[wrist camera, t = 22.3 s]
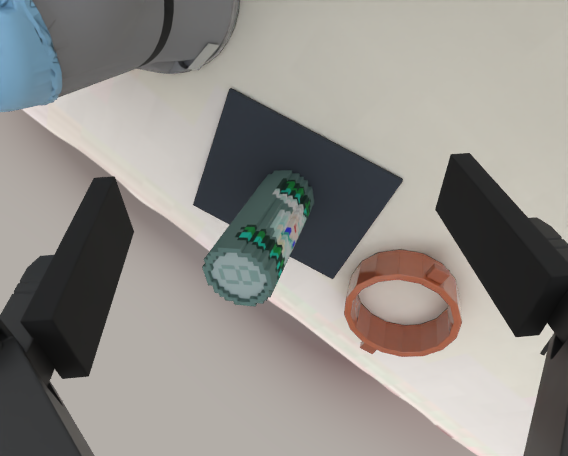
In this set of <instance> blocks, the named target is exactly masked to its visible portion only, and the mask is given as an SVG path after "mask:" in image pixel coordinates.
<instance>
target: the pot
mask: <svg viewBox="0 0 568 456" xmlns="http://www.w3.org/2000/svg"><path fill="white" fill-rule="evenodd" d="M389 280H403V281H409V282H414V283H419V284H422V285H423V286H425V287H427V288H429V289H431V290H433V291H435V292H437V293H438V294H439V295H440V296H441V297H442V298H443V299H444V300H445V302H446V303H447V304H448V308H447V309H446V310H445V311H444V312H443V313H442V314H441V315H440V316H439V317H438V318H436V319H434V320H431V321H429V322H426V323H424V324H420V325H399V324H395V323H390V322H386V321H384V320H382V319H380V318H378V317H376V316H374V315H373V314H371V313H370V312H369V311H368V310H367V309H366V308H365V307H364V306H363V305H362V303H361V302H360V299H359V297H358V294H359V293H360V291H361V290H362V289H364V288H366V287H368V286H370V285H372V284H374V283H377V282H380V281H389ZM344 315H345V317H346V320H347V322H348V325H349V327H350V329H351V330H352V331H353V332H354V334H355V335H356V336H357V337H358V338H359V339H360V340H361V341H362V342H361V345H360V348H361V349H363V350H365V351H367V352H369V353H371V354H373V353H374V352H375V351H376V350H379V351H381V352H384V353H388V354H392V355H397V356H401V357H409V356H425V355H428V354H431V353H434V352H437V351H440V350H443V349H444V348H445V347H446V346H448V345H449V344H450V343H451V342H452V341H454V340H455V339H456V337H457V335H458V332H459V329H460V327H461V324H462V318H461V308H460V298H459V292H458V288H457V283H456V279H455V278H454V277H453V275H452V274H451V273H450V270H448V269H447V268H446V267H445V266H444V265H443V264H442V263H440V262H438V261H436V260H434V259H433V258H431V257H429V256H427V255H425V254H423V253H418V252H412V251H406V250H393V251H386V252H379V253H377V254H375V255H373V256H371V257H369V258H367V259H366V260H364V261H362V262H361V263H360V264H359V266H358V267H357V268H356V270H355V271H354V272H353V274H352V276H351V280H350V284H349V289H348V293H347V297H346V303H345V311H344Z"/></svg>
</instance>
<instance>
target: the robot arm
mask: <svg viewBox="0 0 568 456" xmlns="http://www.w3.org/2000/svg"><path fill="white" fill-rule="evenodd" d="M239 1H240V0H0V112H9V111H14V110H19V109H23V108H28V107H33V106H37V105H47V104H49V103H52V102H54V100H57V98H58V97H61V96H63V95H66V94H69V93H71V92H74V91H77V90H79V89H82V88H85V87H88V86H90V85H93V84H96V83H98V82H101V81H104V80H106V79H109V78H112V77H114V76H117V75H120V74H123V73H125V72H128V71H131V70H133V69H142V70H147V71H152V72H157V73H164V74H174V73H183V72H188V71H191V70H199V69H200V67H201V66H202V65H204V64H206V63H208V62H209V61H211V60H212V59H213V58H214V57H216V56H217V55H218V54H219V53H220V51H221V50H222V49H223V48H224V46H225V45H226V43H227V42H228V40H229V38H230V36H231V34H232V32H233V29H234V26H235V23H236V20H237V15H238V10H239ZM435 210H436V211H437V213H438V215H439V216H440V218H441V219H442V221H443V222H444V224H445V226H446V227H447V229H448V230H449V232H450V234H451V235H452V237H453V238H454V240H455V242H456V243H457V245H458V246H459V248H460V249H461V251H462V253H463V254H464V256H465V257H466V259H467V261H468V262H469V264H470V265H471V267H472V269H473V270H474V272H475V273H476V275H477V276H478V278H479V280H480V281H481V283H482V284H483V286H484V288H485V289H486V291H487V292H488V294H489V296H490V297H491V299H492V300H493V302H494V303H495V305H496V307H497V308H498V310H499V311H500V313H501V315H502V316H503V318H504V319H505V321H506V323H507V324H508V326H509V327H510V329H511V330H512V332H513V334H514V335H515V337H523V336H534V335H540V333H541V332H542V330H543V329H544V327H545V325H546V324H547V323H548V324H549V326H550V327H551V329H552V330H553V331H554V334H553V336H552V337H551V338H550V340H549V341H548V343H547V344H546V345H545V347H544V348H543V350H542V351H541V353H540V354H542V355H545V353H546V352H547V355H546V359H545V363H544V368H543V372H542V377H541V381H540V385H539V390H538V394H537V399H536V403H535V407H534V412H533V416H532V421H531V425H530V429H529V434H528V438H527V443H526V447H525V451H524V456H568V244H567V242H566V241H565V240H564V239H561V236H560V235H559V234H558V233H557V232H556V231H555V230H554V229H553V228H552V227H551V226H550V225H548V224H546V223H545V222H543V221H542V220H540V219H538V218H528V217H527V216H526V215H525V214H524V213H523V212H522V211H521V210H520V208H519V207H518V206H517V205H516V204H515V203H514V202H513V201H512V200H511V199H510V197H509V196H508V195H507V194H506V193H505V192H504V191H503V190H502V189H501V187H500V186H499V185H498V184H497V183H496V182H495V181H494V180H493V179H492V177H491V176H490V175H489V174H488V173H487V172H486V171H485V170H484V169H483V167H482V166H481V165H480V164H479V163H478V162H477V161H476V160H475V159H474V157H473V156H472V155H471V154H470V153H464V154H451V156H450V159H449V163H448V166H447V170H446V173H445V177H444V180H443V184H442V188H441V191H440V195H439V198H438V202H437V205H436V209H435ZM133 233H134V230H133V228H132V225H131V222H130V219H129V216H128V213H127V210H126V208H125V205H124V202H123V199H122V196H121V193H120V191H119V188H118V185H117V182H116V179H115V177H100V178H94V179H93V181H92V183H91V185H90V187H89V189H88V191H87V192H86V195H85V196H84V199H83V201H82V202H81V204H80V206H79V208H78V210H77V212H76V214H75V216H74V218H73V220H72V222H71V224H70V226H69V227H68V230H67V231H66V233H65V235H64V237H63V239H62V241H61V243H60V245H59V247H58V249H57V251H56V253H55V255H48V256H40V257H39V258H37V259H36V260H35V261H34V262H33V263H32V264H31V265H30V266H29V267H28V268H27V269H26V271H25V273H24V274H23V276H22V278H21V280H20V283H19V284H18V285H17V287H16V288H15V290H14V294H12V295H11V297H10V299H9V301H8V302H7V304H6V306H5V308H4V309H3V311H2V313H1V315H0V456H94V454H93V452H92V451H91V449H90V447H89V446H88V444H87V442H86V441H85V439H84V437H83V435H82V434H81V432H80V431H79V429H78V427H77V425H76V424H75V422H74V420H73V419H72V417H71V415H70V414H69V412H68V410H67V408H66V407H65V405H64V404H63V402H62V400H61V399H60V397H59V395H58V393H57V392H56V390H55V388H54V387H53V385H52V384H51V382H50V379H51V376H52V373H53V371H54V369H55V370H56V371H57V372H58V374H59V375H60V376H61V378H62V379H65V378H76V377H86V376H89V374H90V371H91V368H92V364H93V361H94V358H95V355H96V352H97V348H98V345H99V342H100V338H101V336H102V332H103V329H104V326H105V323H106V319H107V316H108V313H109V310H110V307H111V304H112V300H113V297H114V294H115V291H116V288H117V284H118V281H119V278H120V274H121V272H122V268H123V265H124V262H125V259H126V255H127V252H128V249H129V246H130V243H131V239H132V236H133Z"/></svg>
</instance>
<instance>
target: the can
mask: <svg viewBox="0 0 568 456" xmlns="http://www.w3.org/2000/svg"><path fill="white" fill-rule="evenodd" d="M313 204H314V197H313V190H312V187H308V180H304V177H300V174H299V173H293V174H292V170H280V171H274V172H273V173H272V174H268V175H267V177H266V178H265V179H264V180H263V182H262V183H261V184H260V185H259V187H258V188H257V189H256V191H255V192H254V193H253V195H252V196H251V197H250V199H249V200H248V201H247V203H246V204H245V205H244V207H243V208H242V209H241V211H240V212H239V213H238V215H237V216H236V217H235V219H234V220H233V221H232V223H231V224H230V225H229V227H228V228H227V229H226V231H225V232H224V233H223V235H222V236H221V237H220V239H219V240H218V241H217V243H216V244H215V245H214V247H213V248H212V249H211V251H210V252H209V253H208V255H207V256H206V257H205V258H204V261H205V264H204V265H203V267H202V268H203V271H204V274H205V277H206V280H207V283H208V285H212V286H213V289H214V292H215V293H219V295H220V297H224V298H225V300H228V301H234V304H236V305H247V306H256V304H257V303H264V301H265V300H267V299H268V297H271V295H272V293H273V291H274V288H275V286H276V284H277V282H278V280H279V278H280V276H281V273H282V271H283V269H284V267H285V265H286V263H287V261H288V259H289V256H290V254H291V252H292V250H293V248H294V246H295V244H296V241H297V239H298V237H299V235H300V233H301V231H302V229H303V226H304V224H305V222H306V220H307V218H308V216H309V214H310V211H311V209H312V206H313Z"/></svg>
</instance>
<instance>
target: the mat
mask: <svg viewBox="0 0 568 456" xmlns="http://www.w3.org/2000/svg"><path fill="white" fill-rule="evenodd" d="M280 170H292V174H293V173H299V174H300V177H304V180H308V187H312V190H313V197H314V204H313V206H312V209H311V211H310V214H309V216H308V218H307V220H306V222H305V224H304V226H303V229H302V231H301V233H300V235H299V237H298V239H297V241H296V244H295V246H294V248H293V250H292V252H291V254H290V257H292V258H294V259H296V260H298V261H299V262H301V263H303V264H305V265H307V266H309V267H311V268H313V269H314V270H316V271H318V272H320V273H322V274H324V275H326V276H328V277H330V278H331V279H333V278H334V277H335V275H336V274H337V273H338V271H339V270H340V268H341V267H342V266H343V264H344V263H345V261H346V260H347V259H348V257H349V256H350V254H351V253H352V251H353V250H354V249H355V247H356V246H357V244H358V243H359V242H360V240H361V239H362V237H363V236H364V235H365V233H366V232H367V230H368V229H369V228H370V226H371V225H372V223H373V222H374V221H375V219H376V218H377V216H378V215H379V214H380V212H381V211H382V209H383V208H384V207H385V205H386V204H387V202H388V201H389V200H390V198H391V197H392V195H393V194H394V193H395V191H396V190H397V188H398V187H399V186H400V184H401V183H402V181H403V179H402V178H400V177H398V176H396V175H394V174H392V173H390V172H389V171H387V170H385V169H383V168H381V167H379V166H377V165H375V164H373V163H372V162H370V161H368V160H366V159H364V158H362V157H360V156H358V155H356V154H355V153H353V152H351V151H349V150H347V149H345V148H343V147H341V146H339V145H338V144H336V143H334V142H332V141H330V140H328V139H326V138H324V137H322V136H321V135H319V134H317V133H315V132H313V131H311V130H309V129H307V128H305V127H304V126H302V125H300V124H298V123H296V122H294V121H292V120H290V119H288V118H287V117H285V116H283V115H281V114H279V113H277V112H275V111H273V110H271V109H270V108H268V107H266V106H264V105H262V104H260V103H258V102H256V101H254V100H253V99H251V98H249V97H247V96H245V95H243V94H241V93H239V92H237V91H236V90H234V89H232V88H231V89H229V92H228V95H227V99H226V102H225V105H224V108H223V111H222V115H221V118H220V121H219V124H218V127H217V131H216V134H215V137H214V140H213V143H212V146H211V150H210V153H209V156H208V159H207V162H206V166H205V169H204V172H203V175H202V178H201V182H200V185H199V188H198V191H197V194H196V197H195V201H194V204H193V205H194V206H196V207H198V208H200V209H201V210H203V211H205V212H207V213H209V214H211V215H213V216H215V217H216V218H218V219H220V220H222V221H224V222H226V223H228V224H231V223H232V221H233V220H234V219H235V217H236V216H237V215H238V213H239V212H240V211H241V209H242V208H243V207H244V205H245V204H246V203H247V201H248V200H249V199H250V197H251V196H252V195H253V193H254V192H255V191H256V189H257V188H258V187H259V185H260V184H261V183H262V182H263V180H264V179H265V178H266V177H267V175H268V174H272V173H273V172H274V171H280Z"/></svg>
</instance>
